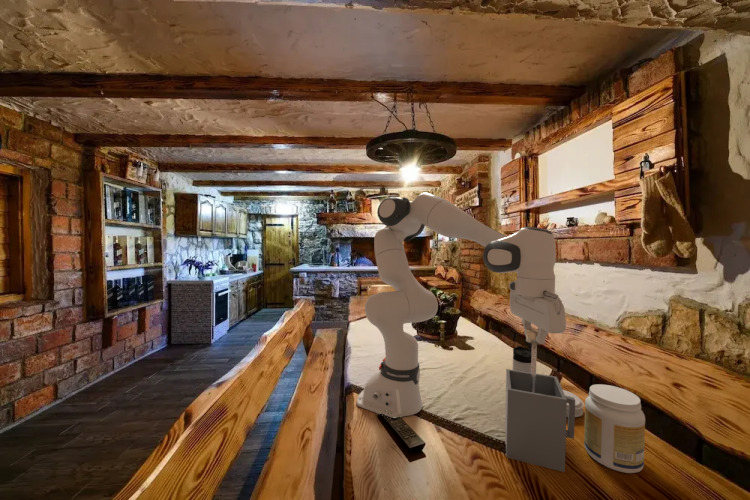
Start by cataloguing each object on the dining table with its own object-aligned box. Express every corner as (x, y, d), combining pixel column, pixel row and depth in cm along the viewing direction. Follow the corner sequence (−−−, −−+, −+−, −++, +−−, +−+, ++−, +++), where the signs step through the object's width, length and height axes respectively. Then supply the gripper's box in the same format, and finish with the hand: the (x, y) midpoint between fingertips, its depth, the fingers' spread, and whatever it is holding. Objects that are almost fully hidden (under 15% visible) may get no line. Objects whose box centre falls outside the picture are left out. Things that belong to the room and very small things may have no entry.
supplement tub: (647, 459, 77) (649, 394, 76) (639, 484, 69) (642, 413, 68) (590, 435, 86) (592, 377, 86) (577, 455, 78) (579, 392, 78)
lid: (541, 414, 97) (541, 399, 97) (536, 395, 108) (537, 382, 108) (588, 424, 92) (588, 408, 92) (578, 403, 104) (578, 388, 103)
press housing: (506, 457, 78) (507, 389, 77) (505, 427, 90) (506, 369, 89) (579, 476, 72) (581, 402, 71) (567, 441, 84) (569, 378, 83)
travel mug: (527, 403, 103) (528, 346, 102) (535, 414, 97) (537, 353, 96) (508, 402, 104) (509, 345, 103) (515, 413, 97) (517, 352, 96)
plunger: (513, 419, 78) (515, 333, 77) (511, 399, 87) (513, 323, 86) (557, 428, 74) (560, 338, 73) (550, 407, 84) (552, 327, 83)
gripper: (574, 295, 69) (572, 354, 70) (526, 282, 90) (525, 328, 90) (547, 295, 69) (546, 354, 69) (506, 282, 89) (505, 328, 90)
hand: (534, 339), depth 80 cm, fingers closed on plunger, 4 cm apart
